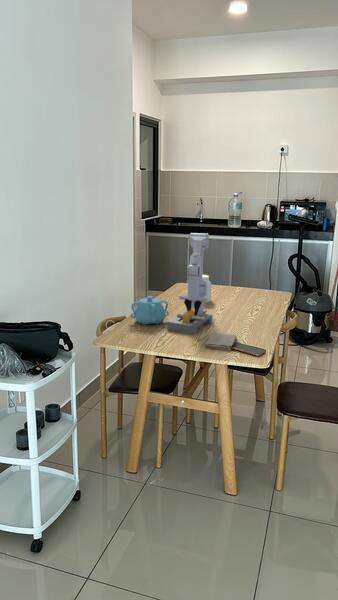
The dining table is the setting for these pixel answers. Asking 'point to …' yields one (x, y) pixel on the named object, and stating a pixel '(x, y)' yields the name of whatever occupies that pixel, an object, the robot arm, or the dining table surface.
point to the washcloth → (221, 341)
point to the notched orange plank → (188, 315)
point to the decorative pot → (149, 311)
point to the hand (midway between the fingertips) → (192, 314)
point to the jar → (207, 287)
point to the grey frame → (188, 327)
